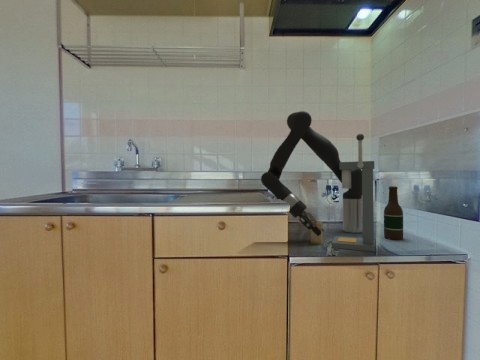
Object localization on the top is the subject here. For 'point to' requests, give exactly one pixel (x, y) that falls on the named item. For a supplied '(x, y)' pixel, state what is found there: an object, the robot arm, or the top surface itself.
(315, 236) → the block
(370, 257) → the top surface
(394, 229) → the beer bottle
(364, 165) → the press
